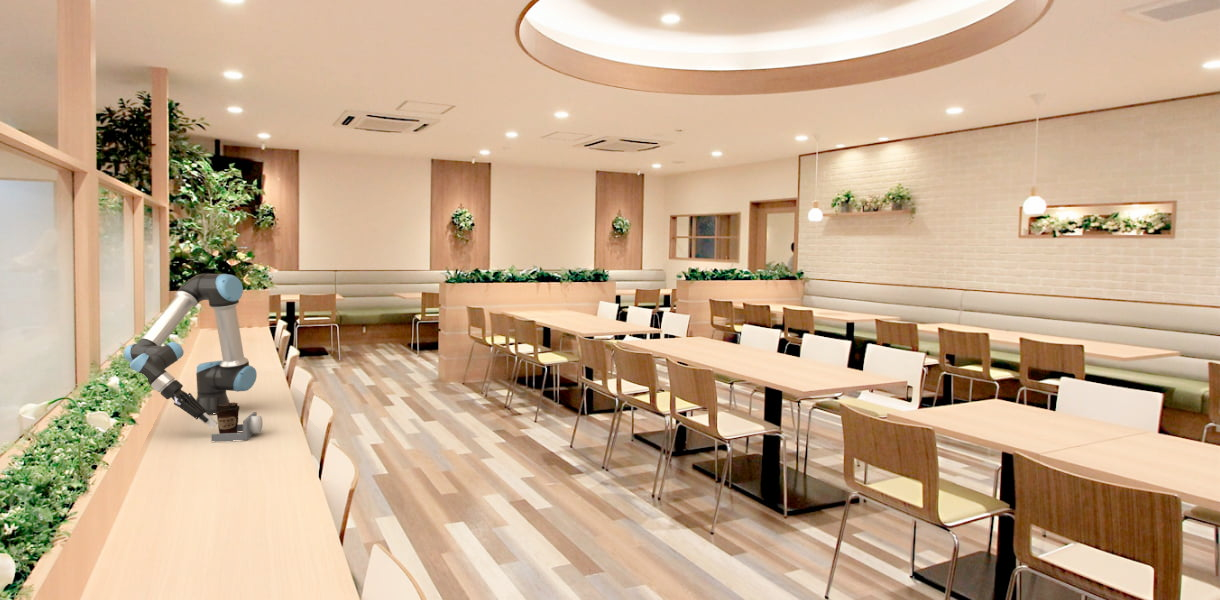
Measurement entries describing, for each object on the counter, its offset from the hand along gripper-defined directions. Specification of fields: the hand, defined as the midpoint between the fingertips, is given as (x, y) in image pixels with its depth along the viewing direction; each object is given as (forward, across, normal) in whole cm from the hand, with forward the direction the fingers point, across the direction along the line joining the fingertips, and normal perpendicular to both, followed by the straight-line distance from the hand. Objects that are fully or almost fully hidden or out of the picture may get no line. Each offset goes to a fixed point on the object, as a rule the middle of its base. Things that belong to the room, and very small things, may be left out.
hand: (214, 426), depth 286 cm
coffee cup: (+7, -2, 0) cm, 7 cm away
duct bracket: (+9, 0, +3) cm, 10 cm away
